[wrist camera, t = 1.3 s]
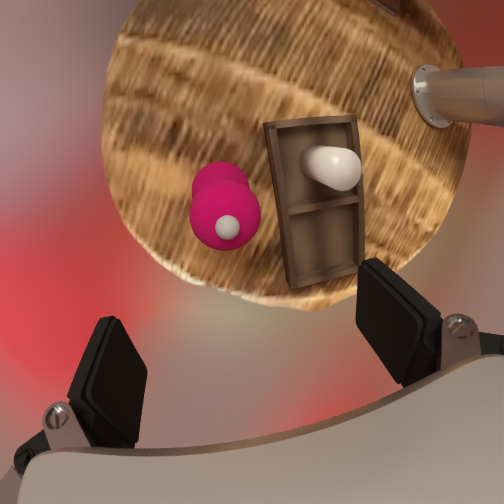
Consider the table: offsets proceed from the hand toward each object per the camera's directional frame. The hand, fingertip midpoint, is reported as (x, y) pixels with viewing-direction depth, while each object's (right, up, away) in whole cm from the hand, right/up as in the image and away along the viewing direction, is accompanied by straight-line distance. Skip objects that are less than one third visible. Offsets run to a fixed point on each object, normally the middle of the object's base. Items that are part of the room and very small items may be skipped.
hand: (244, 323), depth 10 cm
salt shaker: (+9, +16, +27) cm, 33 cm away
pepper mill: (-4, +12, +27) cm, 30 cm away
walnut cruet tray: (+10, +11, +30) cm, 34 cm away
